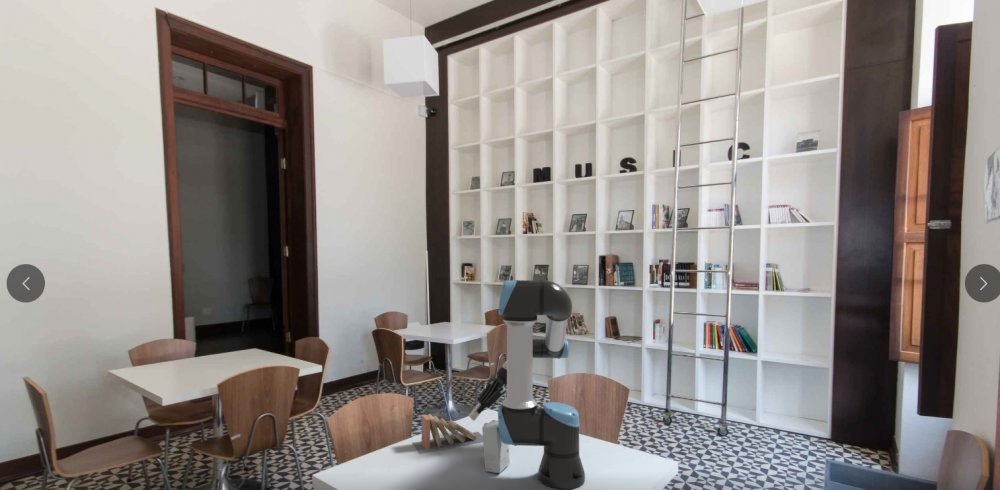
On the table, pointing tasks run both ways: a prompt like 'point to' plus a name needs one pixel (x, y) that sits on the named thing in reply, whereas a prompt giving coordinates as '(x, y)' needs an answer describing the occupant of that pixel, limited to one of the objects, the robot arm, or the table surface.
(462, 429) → the domino
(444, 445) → the mat
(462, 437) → the domino
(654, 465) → the table surface
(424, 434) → the domino
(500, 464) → the skincare box
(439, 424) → the domino
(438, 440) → the domino
